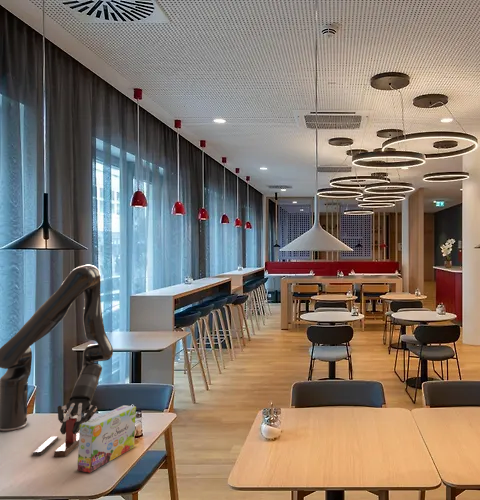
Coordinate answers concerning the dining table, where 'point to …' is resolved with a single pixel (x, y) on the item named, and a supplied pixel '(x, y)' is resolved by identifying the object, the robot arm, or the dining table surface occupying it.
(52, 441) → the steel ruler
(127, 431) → the snack box
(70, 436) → the stamp
